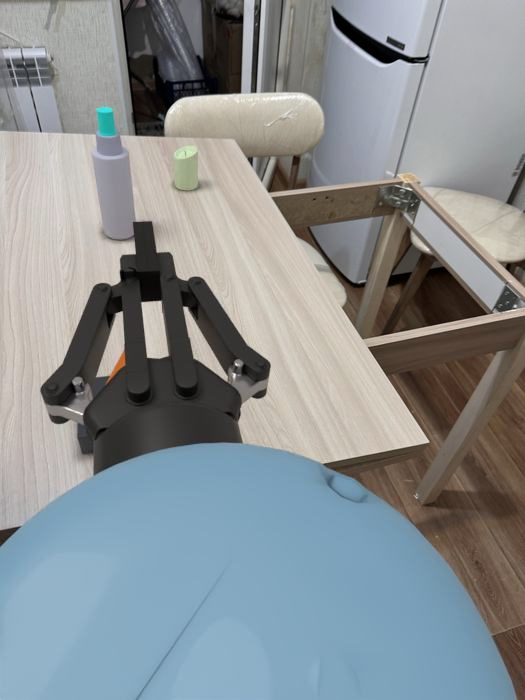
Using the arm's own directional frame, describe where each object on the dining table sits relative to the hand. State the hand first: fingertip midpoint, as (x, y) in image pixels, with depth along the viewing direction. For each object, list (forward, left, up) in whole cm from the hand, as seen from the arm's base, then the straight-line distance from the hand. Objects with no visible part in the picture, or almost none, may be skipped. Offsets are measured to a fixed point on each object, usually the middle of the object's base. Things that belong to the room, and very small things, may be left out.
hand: (143, 236), depth 39 cm
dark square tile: (-6, 0, -30) cm, 30 cm away
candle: (-50, +46, -30) cm, 74 cm away
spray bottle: (-43, +24, -30) cm, 58 cm away
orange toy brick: (-6, 0, -26) cm, 27 cm away
